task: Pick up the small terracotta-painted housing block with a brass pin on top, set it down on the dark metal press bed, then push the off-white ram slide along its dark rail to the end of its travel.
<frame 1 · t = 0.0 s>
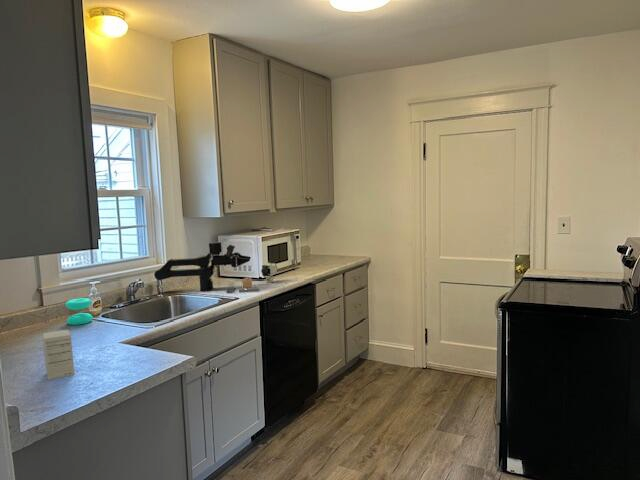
hand: (250, 258, 269), 17 cm above the worktop, tool horizontal, fingers open, 9 cm apart
pneumatic valve: (270, 282, 285), on the worktop
ram rail: (230, 290, 265), on the worktop
press bed: (248, 290, 263), on the worktop
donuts: (80, 323, 207), on the worktop
supplement box: (60, 374, 145), on the worktop
ram slide: (231, 283, 269), point 3 cm above the worktop, slide at 0.0 cm
housing: (247, 288, 270), on the worktop
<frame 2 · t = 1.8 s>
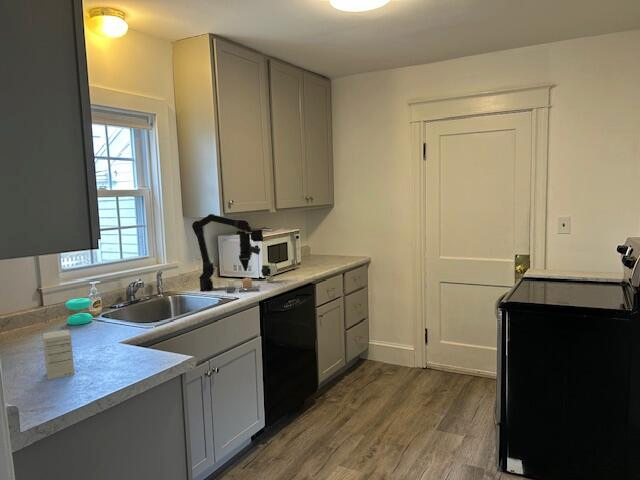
hand: (246, 269, 269), 11 cm above the worktop, tool pointing down, fingers open, 9 cm apart
nothing on the worktop moved.
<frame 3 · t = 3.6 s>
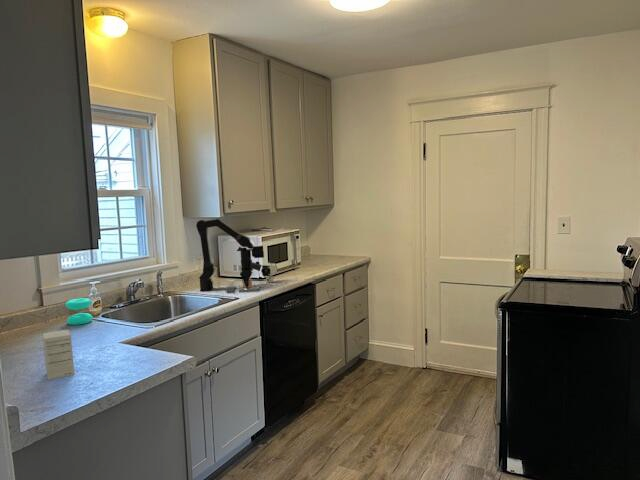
hand: (247, 285, 270), 1 cm above the worktop, tool pointing down, fingers closed on housing, 5 cm apart
housing: (247, 287, 270), on the worktop, touching gripper
everything else where it was.
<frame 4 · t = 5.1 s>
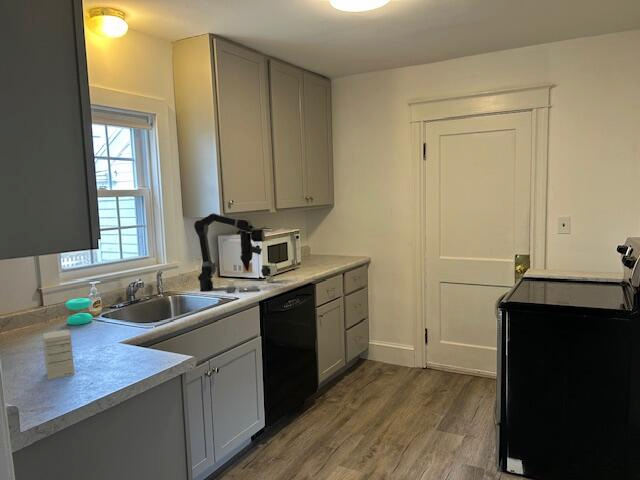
hand: (247, 270, 264), 11 cm above the worktop, tool pointing down, fingers closed on housing, 5 cm apart
housing: (247, 272, 264), point 10 cm above the worktop, touching gripper
everything else where it was.
when the fingers open (4 cm above the worktop, at t = 6.9 s): housing drops 1 cm, resting on press bed.
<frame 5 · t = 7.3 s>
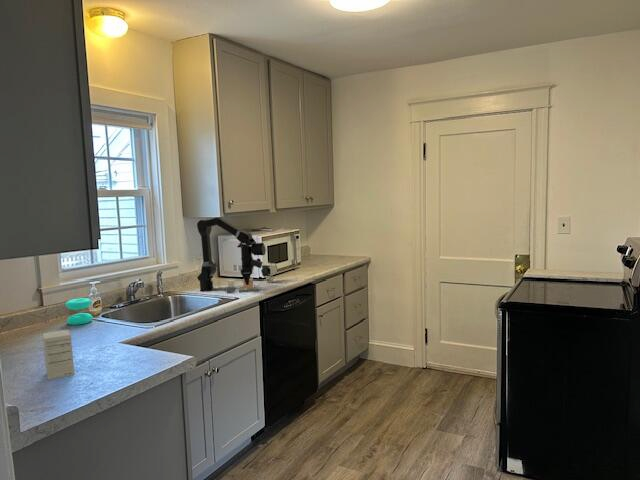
hand: (248, 283, 262), 4 cm above the worktop, tool pointing down, fingers open, 9 cm apart
housing: (248, 288, 263), point 1 cm above the worktop, touching press bed
everything else where it was.
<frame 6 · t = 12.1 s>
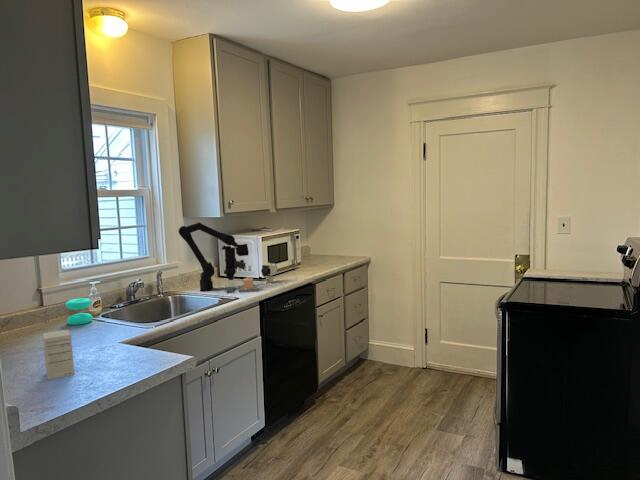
hand: (231, 283, 272), 2 cm above the worktop, tool pointing down, fingers closed
ram slide: (231, 283, 269), point 3 cm above the worktop, slide at 0.3 cm, touching gripper
everything else where it was.
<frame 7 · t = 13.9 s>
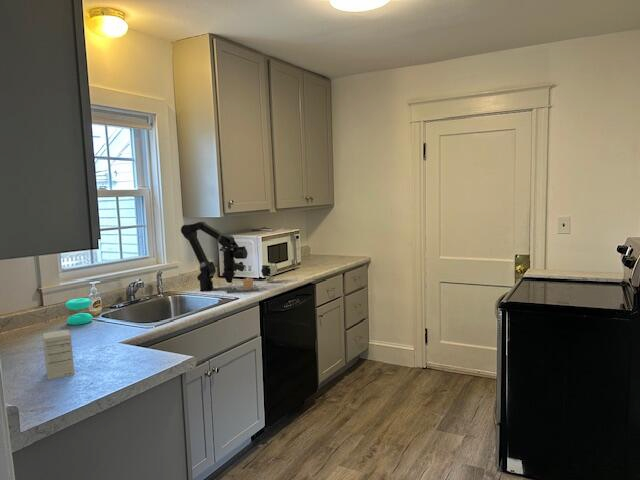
hand: (230, 286, 264), 2 cm above the worktop, tool pointing down, fingers closed
ram slide: (229, 286, 261), point 3 cm above the worktop, slide at 8.9 cm, touching gripper
everything else where it was.
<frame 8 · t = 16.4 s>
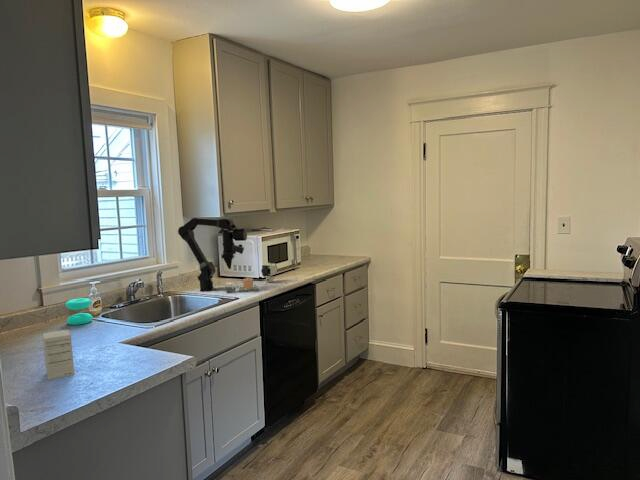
hand: (229, 268, 265), 12 cm above the worktop, tool pointing down, fingers closed
ram slide: (229, 286, 260), point 3 cm above the worktop, slide at 9.1 cm
everything else where it was.
at the end: housing inside the target area on the press bed (0.0 cm from its centre), point 1.3 cm above the press bed's base; housing tilted 0°; ram slide slide at 9.1 cm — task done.
